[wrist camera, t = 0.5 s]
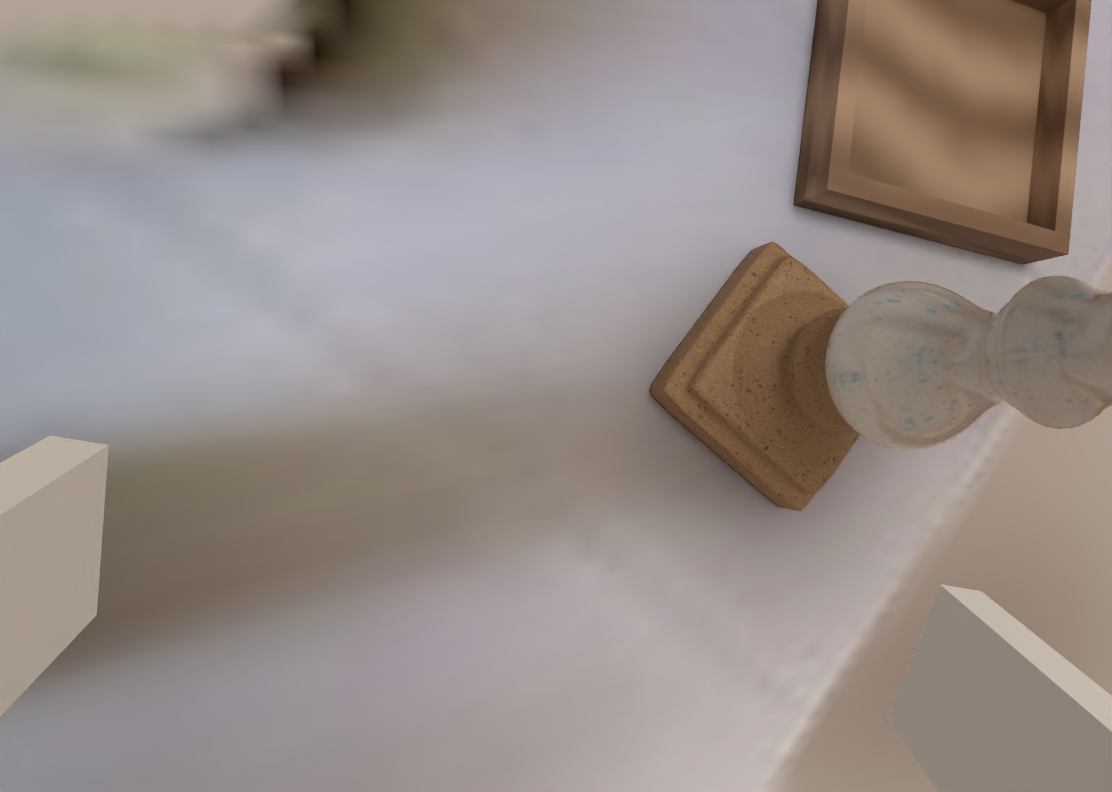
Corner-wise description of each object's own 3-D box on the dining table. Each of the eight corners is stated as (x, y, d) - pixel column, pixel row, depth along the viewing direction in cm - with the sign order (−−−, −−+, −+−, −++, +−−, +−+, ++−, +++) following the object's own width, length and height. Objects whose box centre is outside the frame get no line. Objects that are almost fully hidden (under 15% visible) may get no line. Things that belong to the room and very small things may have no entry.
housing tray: (827, -77, 43) (861, -112, 40) (1047, 9, 48) (1092, -17, 45) (793, 204, 42) (827, 189, 39) (1023, 264, 46) (1068, 254, 43)
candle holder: (782, 511, 41) (1336, 635, 18) (644, 391, 39) (1075, 356, 16) (880, 365, 43) (1485, 309, 20) (754, 243, 41) (1274, 24, 18)
